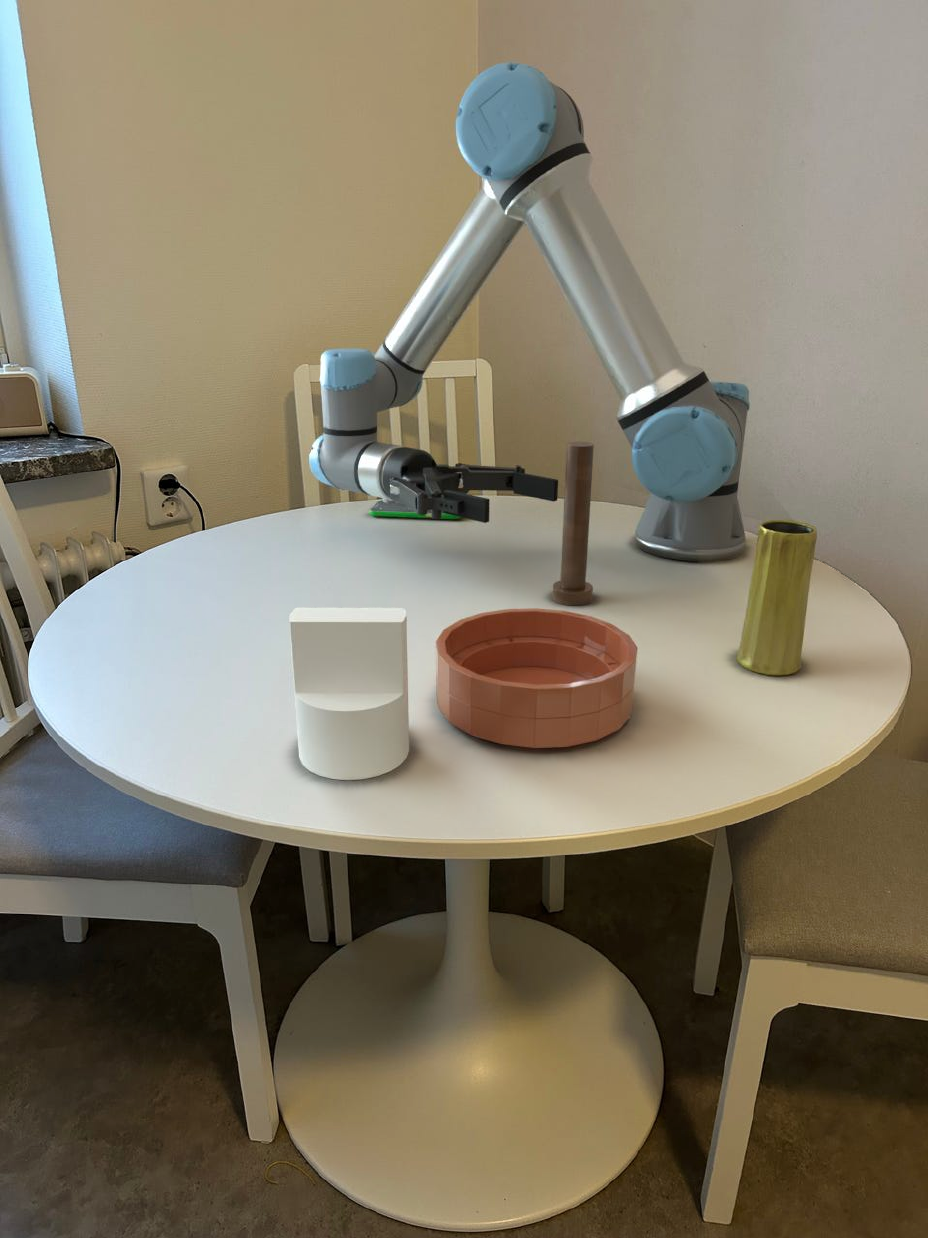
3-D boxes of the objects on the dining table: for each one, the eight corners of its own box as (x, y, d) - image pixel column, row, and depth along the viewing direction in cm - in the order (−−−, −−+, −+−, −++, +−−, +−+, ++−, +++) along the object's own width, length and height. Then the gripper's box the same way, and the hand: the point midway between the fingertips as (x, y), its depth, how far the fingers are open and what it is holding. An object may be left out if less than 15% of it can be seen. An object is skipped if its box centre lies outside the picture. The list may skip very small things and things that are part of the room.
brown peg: (587, 591, 108) (596, 439, 101) (596, 605, 103) (606, 447, 96) (548, 592, 107) (555, 440, 100) (556, 606, 103) (563, 448, 96)
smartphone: (378, 499, 146) (467, 502, 144) (378, 505, 146) (467, 508, 144) (367, 510, 139) (461, 514, 137) (367, 516, 139) (461, 520, 137)
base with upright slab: (289, 780, 68) (278, 637, 63) (308, 723, 76) (299, 594, 72) (406, 780, 68) (402, 637, 63) (412, 724, 76) (409, 594, 72)
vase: (800, 680, 84) (822, 538, 79) (734, 671, 86) (752, 531, 81) (800, 656, 90) (822, 521, 84) (738, 647, 92) (756, 515, 86)
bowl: (605, 661, 88) (609, 606, 86) (655, 749, 72) (662, 684, 70) (432, 666, 87) (431, 610, 85) (443, 758, 71) (442, 692, 68)
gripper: (460, 485, 129) (579, 511, 116) (330, 518, 112) (454, 552, 99) (460, 434, 126) (582, 454, 113) (327, 460, 109) (454, 487, 96)
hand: (523, 500), depth 106 cm, fingers open, 13 cm apart
